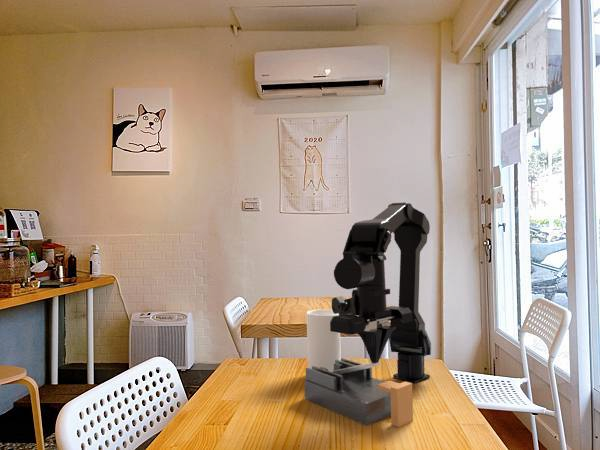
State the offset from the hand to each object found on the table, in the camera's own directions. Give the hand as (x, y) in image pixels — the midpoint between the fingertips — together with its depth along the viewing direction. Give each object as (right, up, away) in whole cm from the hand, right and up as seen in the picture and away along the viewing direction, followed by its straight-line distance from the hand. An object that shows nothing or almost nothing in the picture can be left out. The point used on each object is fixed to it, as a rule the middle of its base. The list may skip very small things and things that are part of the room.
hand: (374, 362), depth 90 cm
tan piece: (+3, -10, -4) cm, 11 cm away
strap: (-4, -3, +5) cm, 7 cm away
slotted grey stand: (-4, -10, +4) cm, 11 cm away
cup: (-9, -10, +22) cm, 26 cm away
